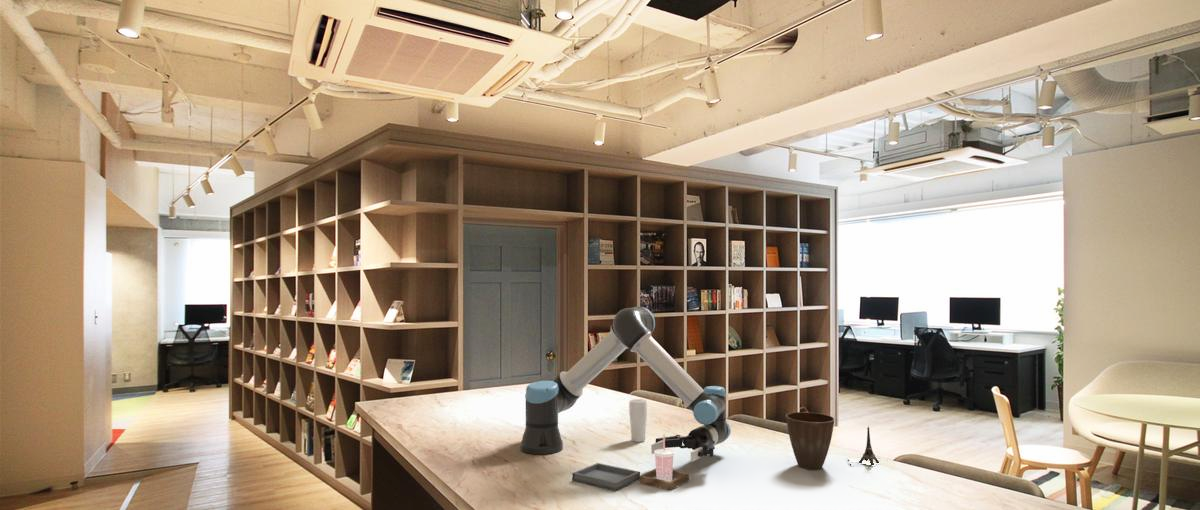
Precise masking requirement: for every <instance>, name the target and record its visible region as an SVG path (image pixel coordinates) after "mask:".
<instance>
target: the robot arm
mask: <svg viewBox="0 0 1200 510" xmlns="http://www.w3.org/2000/svg"><path fill="white" fill-rule="evenodd" d="M655 327H656V321H655V316H654V315H653V313H652V312H651V311H650V310H649V309H648V308H646V307H644V306H643V307H642V306H640V305H639V306H633V307H626V308H623V309H620V310H619V311H618V312H617V313H616V314H615V316H614V317H613V321H612V324H611V325H610V331H609V332H608V333H607V334H606V335H605V336H603V338H602V339H601V340H600V341H598V343H597V344H595V346H593V347H592V348H591V349H590V351H588V352H587V353H586V354H585V355H584V356H582V358H581V359H579V360H578V362H576V363H575V364H574V365H573V366H572V367H571V368H570V369H569V370H568V371H560V373H559V374H557V375H556V377H554V378H553V379H552V380H537V381H534V382H531V383H529V384H528V385H527V386H526V388H525V394H524V395H525V396H524V397H525V398H524V399H525V428H524V431H523V435H522V438H521V441H520V451H521V452H523V453H525V454H530V455H549V454H555V453H559V452H561V451H562V450H563V449H564V442H563V439H562V436H561V432H560V429H559V413H561V412H564V411H567V410H569V409H571V408H572V407H573V406H574V405H575V404H576V402H577V401H578V399H579V398H580V397H582V395H583V393H584V392H583V389H584V388H585V387H586V386H587V385H589V384H590V382H592V381H593V380H594V379H595V378H596V377H597V376H599V374H600V373H602V372H603V371H604V370H605V369H606V368H607V367H608V366H609V365H610V364H612V362H614V361H615V360H616V359H617V358H618V357H619V356H620V355H621V354H623V352H625V351H626V349H628V350H629V351H630V352H631V353H636V354H637V355H638V356H639V358H640V359H642V361H643V362H645V363H646V365H648V367H649V368H650V369H651V370H652V371H653V372H654V373H655V374H656V375H657V376H658V377H659V378H660V379H661V380H662V381H663V382H664V383H665V384H666V385H667V386H668V387H669V388H670V390H672V392H673V393H674V394H675V395H676V396H677V397H678V398H679V399H680V400H681V401H682V402H683V403H684V404H685V405H686V406H687V407H688V408H689V409H690V410H691V411H692V413H693V417H694V420H695V421H696V422H697V423H699V424H701V425H700V426H699V427H696V428H693V429H692V430H691V431H690V432H689V433H688V434H687V435H686V436H681V435H680V434H676V435H675V434H674V435H671V436H665V449H670V448H680V449H692V450H691V451H690V461H691V462H695V461H697V460H698V459H700V458H702V457H707V456H709V457H711V458H713V457H714V450H715V449H716V448H715V446H716V445H719V444H722V443H724V442H725V441H726V440H727V439H729V437H730V435H731V433H732V432H731V430H732V429H731V427H730V424H729V423H728V422H727V418H726V417H727V414H726V412H727V411H726V409H727V404H726V402H727V396H726V394H727V393H726V388H724V387H723V386H719V385H710V386H705V387H704V388H702V386H700V384H699V383H697V382H696V381H695V380H694V378H693V377H691V376H690V374H688V372H687V371H685V369H684V368H683V367H681V365H680V364H679V363H678V362H677V361H676V360H675V359H674V358H673V357H672V356H671V355H670V354H669V353H668V352H667V351H666V350H665V349H664V348H663V347H662V345H660V344H659V343H658V342H657V341H656V340H655V339H654V337H653V336H652V333H653V332H654V330H655ZM650 448H651V452H650V453H651V454H652V455H654V451H655V450H657V449H663V437H659V438H655V443H653V444H651V447H650Z"/></svg>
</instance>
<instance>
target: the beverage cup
mask: <svg viewBox="0 0 1200 510" xmlns="http://www.w3.org/2000/svg"><path fill="white" fill-rule="evenodd" d="M665 437H666V435H665V434H663V437H662V438H663V449H657V450H655V451H654V454H653V455H654V457H655V458H654V460H655V468H656V477H655V479H660V480H665V481H669V482H670V481H672V480H673V478H672V471H673V469H674V468H673V466H674V456H675V451H674V450H673V449H670V448H665Z"/></svg>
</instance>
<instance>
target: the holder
mask: <svg viewBox="0 0 1200 510" xmlns="http://www.w3.org/2000/svg"><path fill="white" fill-rule="evenodd" d="M672 477H673V478H672V481H670V482H669V481H665V480H660V479H657V478H656V467H655V468H653V469H651V470H650V471H647V472H645V473H643V474H640V476H639V480H638V483H639V484H641V485H645V486H651V487H656V488H659V487H661V488H660V489H664V488H666V489H665V490H668V489H671V490H670V491H672V489H673V488H675V487H676V488H678V487H680V486H682V485H683V484H682V483H684V482H685V483H687V482H689V481H690V473H689V472H688V473H687V472H683V471H678V470H673V471H672ZM675 478H676V479H675ZM688 480H689V481H688ZM686 481H687V482H686ZM685 483H684V484H685ZM681 484H682V485H681ZM679 485H680V486H679ZM677 486H678V487H677ZM676 488H675V489H676ZM673 490H674V489H673Z"/></svg>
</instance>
